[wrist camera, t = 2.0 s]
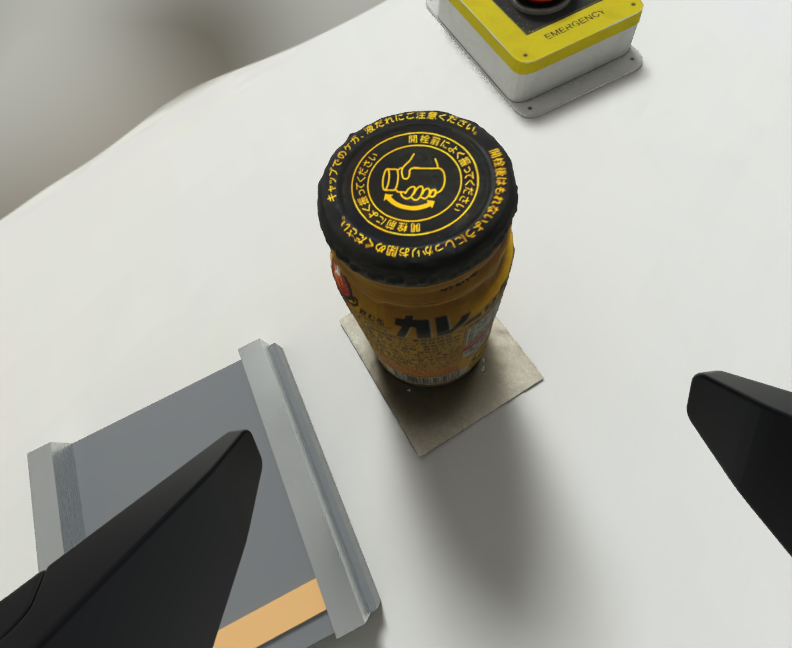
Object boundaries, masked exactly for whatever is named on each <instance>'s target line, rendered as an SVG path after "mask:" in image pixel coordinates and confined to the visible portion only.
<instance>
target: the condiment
mask: <svg viewBox="0 0 792 648" xmlns="http://www.w3.org/2000/svg"><path fill="white" fill-rule="evenodd" d="M517 190H518V187H517V185H516V182H515V177H514V171H513V168H512V162H511V160H510V158H509V156H508V155H507V153H506V152H505V150H504V149H503V147H502V146H501V145H500V144H499V143H498V142H497V141H496V140H495V138H494V137H493V136H491V135H490V134H489V133H488V132H487V131H485V130H484V129H483V128H481V127H480V126H479V125H478V124H477V123H475V122H472V121H470V120H466V119H463V118H460V117H456V116H454V115H452V114H449V113H446V112H441V111H413V112H405V113H400V114H396V115H391V116H387V117H384V118H381V119H379V120H377V121H375V122H374V123H372V124H370V125H366V126H365V127H364V128H362V129H361V130H359V131H358V132H356V133H351V134H350V135H349V137H348V139H347V140H346V142H345V143H344V144H343V145H342V146H340V147H339V148H338V149H337V150H336V151H335V153H334V154H333V155H332V156H331V158H330V161H329V163H328V165H327V167H326V168H325V171H324V174H323V176H322V178H321V180H320V181H319V184H318V201H317V206H318V217H319V221H320V226H321V229H322V231H323V234H324V236H325V239H326V242H327V243H328V245H329V247H330V249H331V255H330V257H331V268H332V273H333V277H334V279H335V281H336V285H337V288H338V290H339V292H340V294H341V296H342V297H343V299H344V301H345V303H346V305H347V306H348V308H349V310H350V312H351V313H350V314H348V315H347V316H345V317H344V318H342V319H340V320H339V321H340V323H341V324H342V326H343V328H344V330H345V331H346V333H347V335H348V336H349V338H350V340H351V341H352V343H353V345H354V347H355V348H356V350H357V352H358V353H359V355H360V357H361V358H362V360H363V362H364V364H365V365H366V367H367V369H368V370H369V372H370V374H371V376H372V377H373V379H374V381H375V382H376V384H377V386H378V388H379V389H380V391H381V393H382V394H383V396H384V398H385V399H386V401H387V403H388V405H389V406H390V408H391V410H392V412H393V413H394V415H395V417H396V418H397V420H398V422H399V424H400V425H401V427H402V429H403V430H404V432H405V434H406V435H407V437H408V439H409V441H410V442H411V444H412V446H413V447H414V449H415V451H416V453H417V454H418V456H419V458H420V457H422V456H423V455H425V454H426V453H428V452H430V451H431V450H432V449H434V448H436V447H437V446H439V445H440V444H442V443H444V442H445V441H447V440H448V439H450V438H451V437H453V436H454V435H456V434H457V433H459V432H460V431H462V430H464V429H466V428H467V427H469V426H470V425H471V424H473V423H475V422H476V421H478V420H479V419H481V418H482V417H484V416H486V415H487V414H489V413H490V412H491V411H493V410H495V409H497V408H498V407H500V406H501V405H503V404H504V403H505V402H507V401H509V400H510V399H512V398H513V397H515V396H517V395H518V394H520V393H521V392H523V391H524V390H526V389H527V388H529V387H531V386H532V385H534V384H535V383H537V382H538V381H540V380H541V379H543V376H542V375H541V374H540V372H539V371H538V370H537V368H536V367H535V365H534V364H533V363H532V362H531V360H530V359H529V358H528V357H527V356H526V354H525V353H524V352H523V350H522V349H521V347H520V346H519V345H518V343H517V342H516V341H515V340H514V339H513V338H512V336H511V335H510V334H509V332H508V331H507V329H506V328H505V327H504V326H503V325H502V323H501V322H500V321H499V319H498V318H497V317H496V313H497V311H498V308H499V305H500V303H501V299H502V296H503V292H504V290H505V287H506V285H507V280H508V278H509V273H510V269H511V266H512V261H513V258H514V251H515V249H514V245H513V234H512V230H511V225H512V218H513V217H514V215H515V213H516V212H517V204H518V193H517ZM484 357H485V359H486V360H485V363H482V362H481V361H482V358H484ZM482 365H484V366H485V371H484V372H482V370H481V368H482ZM408 389H410V392H409V391H407V390H408Z"/></svg>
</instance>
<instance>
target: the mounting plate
mask: <svg viewBox="0 0 792 648" xmlns="http://www.w3.org/2000/svg"><path fill="white" fill-rule="evenodd" d="M270 348H271V350H272V353H273V355H274V358H275V361H276V363H277V366H278V369H279V371H280V374H281V377H282V379H283V382H284V385H285V387H286V390H287V392H288V395H289V398H290V400H291V403H292V406H293V408H294V411H295V414H296V416H297V419H298V422H299V424H300V427H301V429H302V432H303V435H304V437H305V440H306V443H307V445H308V448H309V451H310V453H311V456H312V459H313V461H314V464H315V466H316V469H317V472H318V474H319V477H320V480H321V482H322V485H323V488H324V490H325V493H326V496H327V498H328V501H329V503H330V506H331V509H332V511H333V514H334V517H335V519H336V522H337V525H338V527H339V530H340V533H341V535H342V538H343V540H344V543H345V546H346V548H347V551H348V554H349V556H350V559H351V562H352V564H353V567H354V570H355V572H356V575H357V577H358V580H359V583H360V585H361V588H362V591H363V593H364V596H365V599H366V601H367V604H368V607H369V609H370V612H373V611H375V610H376V609H378V606H379V604H380V602H381V600H380V597H379V595H378V592H377V589H376V587H375V584H374V582H373V579H372V577H371V574H370V572H369V569H368V566H367V564H366V561H365V559H364V556H363V554H362V551H361V549H360V546H359V543H358V541H357V538H356V536H355V533H354V531H353V528H352V526H351V523H350V520H349V518H348V515H347V513H346V510H345V508H344V505H343V502H342V500H341V497H340V495H339V492H338V490H337V487H336V485H335V482H334V479H333V477H332V474H331V472H330V469H329V467H328V464H327V462H326V459H325V456H324V454H323V451H322V449H321V446H320V444H319V441H318V439H317V436H316V433H315V431H314V428H313V426H312V423H311V421H310V418H309V416H308V413H307V410H306V408H305V405H304V403H303V400H302V398H301V395H300V392H299V390H298V387H297V385H296V382H295V380H294V377H293V375H292V372H291V369H290V367H289V364H288V362H287V359H286V357H285V354H284V352H283V349H282V348H281V347H280V346H278V345H277V344H276V343H274V344H272V345H270ZM241 429H248V430H250V432H251V433H252V435H253V437H254V440H255V442H256V445H257V447H258V450H259V452H260V455H261V458H262V473H261V477H260V482H259V487H258V492H257V496H256V501H255V506H254V511H253V515H252V520H251V525H250V529H249V534H248V538H247V542H246V545H245V548H244V552H243V555H242V558H241V561H240V564H239V567H238V571H237V574H236V577H235V580H234V583H233V586H232V589H231V592H230V596H229V599H228V602H227V605H226V608H225V611H224V614H223V618H222V621H221V624H220V627H219V630H218V633H217V636H216V639H215V643H214V646H213V648H307V647H309V646H311V645H312V644H314V643H316V642H318V641H320V640H322V639H323V638H325V637H327V636H329V635H331V634H333V633H334V629H333V626H332V623H331V621H330V618H329V615H328V612H327V609H326V606H325V603H324V600H323V597H322V594H321V591H320V588H319V585H318V582H317V580H316V577H315V574H314V571H313V568H312V565H311V562H310V559H309V556H308V553H307V550H306V547H305V544H304V541H303V539H302V536H301V533H300V530H299V527H298V524H297V521H296V518H295V515H294V512H293V509H292V506H291V503H290V500H289V498H288V495H287V492H286V489H285V486H284V483H283V480H282V477H281V474H280V471H279V468H278V465H277V462H276V459H275V457H274V454H273V451H272V448H271V445H270V442H269V439H268V436H267V433H266V430H265V427H264V424H263V421H262V418H261V416H260V413H259V410H258V407H257V404H256V401H255V398H254V395H253V392H252V389H251V386H250V383H249V380H248V377H247V375H246V372H245V369H244V366H243V363H242V360H239V361H237V362H235V363H233V364H231V365H229V366H227V367H225V368H223V369H221V370H219V371H217V372H215V373H213V374H211V375H209V376H207V377H205V378H203V379H201V380H199V381H197V382H195V383H193V384H191V385H189V386H187V387H185V388H183V389H181V390H179V391H177V392H175V393H173V394H171V395H169V396H167V397H165V398H163V399H161V400H159V401H157V402H155V403H153V404H151V405H149V406H147V407H145V408H143V409H141V410H139V411H137V412H135V413H133V414H131V415H129V416H127V417H125V418H123V419H121V420H119V421H117V422H115V423H113V424H111V425H109V426H107V427H105V428H103V429H101V430H99V431H97V432H95V433H93V434H91V435H89V436H87V437H85V438H83V439H81V440H79V441H77V442H75V443H73V450H74V457H75V464H76V471H77V478H78V485H79V492H80V499H81V506H82V513H83V520H84V527H85V533H86V537H88V536H89V535H90V534H92V533H93V532H94V531H96V530H97V529H98V528H100V527H101V526H102V525H104V524H105V523H106V522H108V521H109V520H110V519H112V518H113V517H114V516H116V515H117V514H118V513H120V512H121V511H122V510H124V509H125V508H126V507H128V506H129V505H130V504H132V503H133V502H134V501H136V500H137V499H138V498H140V497H141V496H142V495H144V494H145V493H146V492H148V491H149V490H151V489H152V488H153V487H155V486H156V485H157V484H159V483H160V482H161V481H163V480H164V479H165V478H167V477H168V476H169V475H171V474H172V473H173V472H175V471H176V470H177V469H179V468H180V467H181V466H183V465H184V464H185V463H187V462H188V461H189V460H191V459H192V458H193V457H195V456H196V455H197V454H199V453H200V452H201V451H203V450H204V449H205V448H207V447H208V446H209V445H211V444H212V443H213V442H215V441H216V440H218V439H219V438H220V437H222V436H223V435H224V434H226V433H227V432H229V431H233V430H241Z"/></svg>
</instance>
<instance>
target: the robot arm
mask: <svg viewBox="0 0 792 648" xmlns="http://www.w3.org/2000/svg"><path fill="white" fill-rule="evenodd" d="M687 414H688V417H689V419H690V421H691V422H692V424H693V425H694V427H695V428H696V430H697V431H698V433H699V434H700V436H701V437H702V439H703V440H704V442H705V443H706V445H707V446H708V448H709V449H710V451H711V452H712V454H713V455H714V457H715V458H716V460H717V461H718V463H719V464H720V466H721V467H722V469H723V470H724V472H725V473H726V475H727V476H728V478H729V479H730V480H731V482H732V483H733V485H734V486H735V487H736V489H737V490H738V491H739V493H740V494H741V495H742V497H743V498H744V499H745V500H746V502H747V503H748V504H749V505H750V507H751V508H752V509H753V510H754V512H755V513H756V514H757V515H758V516H759V518H760V519H761V520H762V521H763V523H764V524H765V525H766V526H767V527H768V529H769V530H770V531H771V532H772V534H773V535H774V536H775V537H776V538H777V540H778V541H779V542H780V543H781V545H782V546H783V547H784V548H785V549H786V551H787V552H788V553H789V554H790V556H791V557H792V392H790V391H786V390H783V389H780V388H776V387H773V386H770V385H766V384H763V383H760V382H757V381H753V380H750V379H747V378H743V377H740V376H737V375H733V374H730V373H727V372H723V371H710V372H702V373H698V374H696V375H694V377H693V378H692V382H691V387H690V392H689V398H688V403H687ZM261 473H262V458H261V455H260V452H259V450H258V447H257V445H256V442H255V440H254V437H253V435H252V433H251V432H250V430H248V429H241V430H233V431H229V432H227V433H226V434H224V435H223V436H222V437H220V438H219V439H218V440H216V441H215V442H213V443H212V444H211V445H209V446H208V447H207V448H205V449H204V450H203V451H201V452H200V453H199V454H197V455H196V456H195V457H193V458H192V459H191V460H189V461H188V462H187V463H185V464H184V465H183V466H181V467H180V468H179V469H177V470H176V471H175V472H173V473H172V474H171V475H169V476H168V477H167V478H165V479H164V480H163V481H161V482H160V483H159V484H157V485H156V486H155V487H153V488H152V489H151V490H149V491H148V492H146V493H145V494H144V495H142V496H141V497H140V498H138V499H137V500H136V501H134V502H133V503H132V504H130V505H129V506H128V507H126V508H125V509H124V510H122V511H121V512H120V513H118V514H117V515H116V516H114V517H113V518H112V519H110V520H109V521H108V522H106V523H105V524H104V525H102V526H101V527H100V528H98V529H97V530H96V531H94V532H93V533H92V534H90V535H89V536H88V537H86V538H85V539H84V540H82V541H81V542H80V543H78V544H77V545H75V546H74V547H73V548H71V549H70V550H69V551H67V552H66V553H65V554H63V555H62V556H61V557H59V558H58V559H57V560H55V561H54V562H53V563H51V564H50V565H49V566H48V567H47V569H46V570H42V571H40V572H39V573H38V574H36V575H35V576H34V577H32V578H31V579H30V580H28V581H27V582H26V583H24V584H23V585H22V586H20V587H19V588H18V589H16V590H15V591H14V592H12V593H11V594H10V595H8V596H7V597H6V598H4V599H3V600H1V601H0V648H213V646H214V643H215V639H216V636H217V633H218V630H219V627H220V624H221V621H222V618H223V614H224V611H225V608H226V605H227V602H228V599H229V596H230V592H231V589H232V586H233V583H234V580H235V577H236V574H237V571H238V567H239V564H240V561H241V558H242V555H243V552H244V548H245V545H246V542H247V538H248V534H249V529H250V525H251V520H252V515H253V511H254V506H255V501H256V496H257V492H258V487H259V482H260V477H261Z"/></svg>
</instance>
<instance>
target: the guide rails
mask: <svg viewBox="0 0 792 648" xmlns="http://www.w3.org/2000/svg"><path fill="white" fill-rule="evenodd" d="M238 351H239V354H240V357H241V360H242V363H243V366H244V369H245V372H246V375H247V377H248V380H249V383H250V386H251V389H252V392H253V395H254V398H255V401H256V404H257V407H258V410H259V413H260V416H261V418H262V421H263V424H264V427H265V430H266V433H267V436H268V439H269V442H270V445H271V448H272V451H273V454H274V457H275V459H276V462H277V465H278V468H279V471H280V474H281V477H282V480H283V483H284V486H285V489H286V492H287V495H288V498H289V500H290V503H291V506H292V509H293V512H294V515H295V518H296V521H297V524H298V527H299V530H300V533H301V536H302V539H303V541H304V544H305V547H306V550H307V553H308V556H309V559H310V562H311V565H312V568H313V571H314V574H315V577H316V580H317V582H318V585H319V588H320V591H321V594H322V597H323V600H324V603H325V606H326V609H327V612H328V615H329V618H330V621H331V623H332V626H333V629H334V632H335V635H336V638H337V639H338V638H340V637H342V636H344V635H345V634H347V633H349V632H351V631H353V630H355V629H356V628H358V627H360V626H362V625H364V624H365V623H366V621H367V619H368V617H369V615H370V613H371V612H370V609H369V607H368V604H367V601H366V599H365V596H364V593H363V591H362V588H361V585H360V583H359V580H358V577H357V575H356V572H355V570H354V567H353V564H352V562H351V559H350V556H349V554H348V551H347V548H346V546H345V543H344V540H343V538H342V535H341V533H340V530H339V527H338V525H337V522H336V519H335V517H334V514H333V511H332V509H331V506H330V503H329V501H328V498H327V496H326V493H325V490H324V488H323V485H322V482H321V480H320V477H319V474H318V472H317V469H316V466H315V464H314V461H313V459H312V456H311V453H310V451H309V448H308V445H307V443H306V440H305V437H304V435H303V432H302V429H301V427H300V424H299V422H298V419H297V416H296V414H295V411H294V408H293V406H292V403H291V400H290V398H289V395H288V392H287V390H286V387H285V385H284V382H283V379H282V377H281V374H280V371H279V369H278V366H277V363H276V361H275V358H274V355H273V353H272V350H271V348H270V345H268V344H267V343H265V342H264V341H263V340H261V339H258V340H256V341H253V342H251V343H249V344H247V345H245V346H243V347H241V348H239V349H238ZM27 457H28V467H29V477H30V488H31V498H32V508H33V518H34V529H35V539H36V549H37V560H38V570H39V572H40V571H42V570H46V569H47V567H48V566H49V565H50V564H51V563H53V562H54V561H55V560H57V559H58V558H59V557H61V556H62V555H63V554H65V553H66V552H67V551H69V550H70V549H71V548H73V547H74V546H75V545H77V544H78V543H80V542H81V541H82V540H84V539H85V538H86V533H85V527H84V520H83V513H82V506H81V499H80V492H79V485H78V478H77V471H76V464H75V457H74V450H73V444H71V443H55V442H50V443H48V444H46V445H44V446H42V447H40V448H38V449H36V450H34V451H32V452H30V453H28V454H27Z"/></svg>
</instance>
